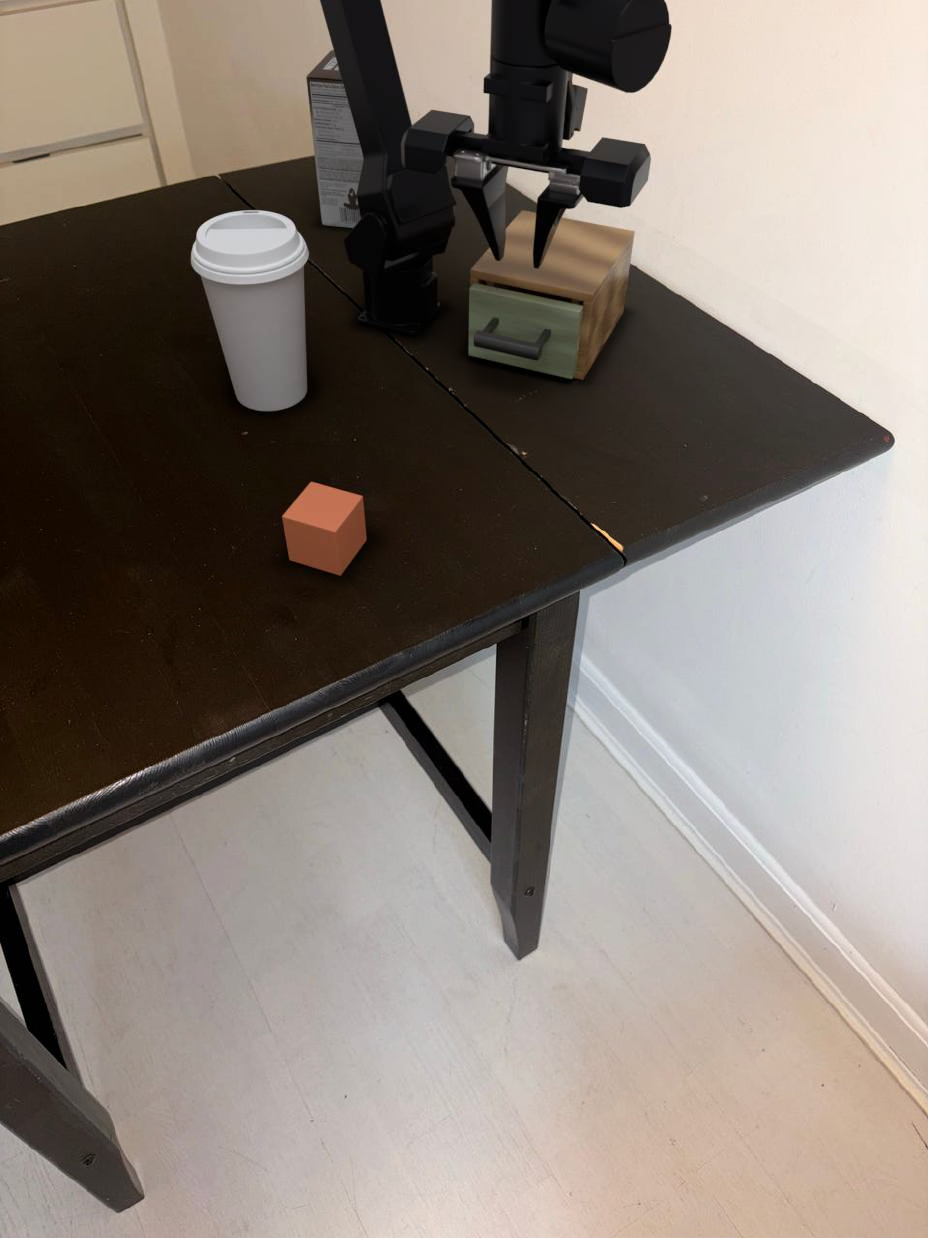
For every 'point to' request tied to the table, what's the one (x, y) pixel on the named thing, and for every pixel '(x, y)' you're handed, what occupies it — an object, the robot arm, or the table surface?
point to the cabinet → (568, 273)
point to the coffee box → (334, 145)
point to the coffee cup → (257, 303)
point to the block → (325, 528)
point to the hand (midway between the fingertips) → (518, 262)
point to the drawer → (525, 328)
